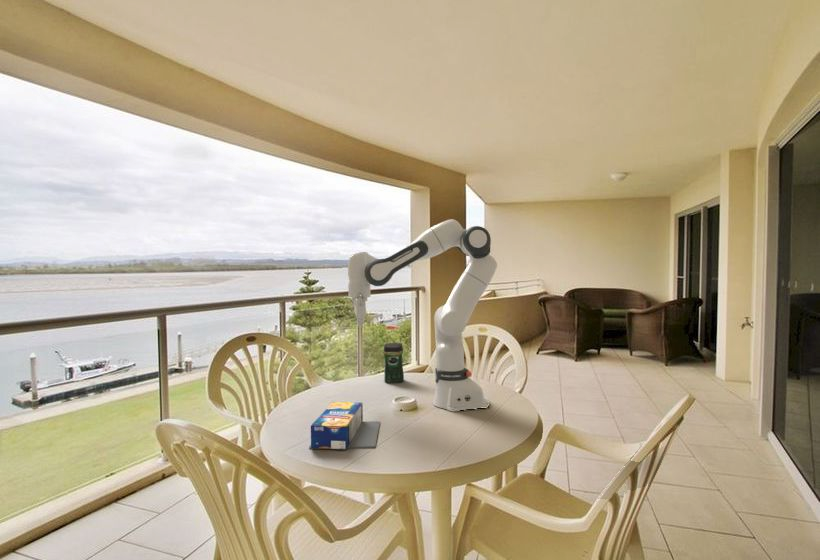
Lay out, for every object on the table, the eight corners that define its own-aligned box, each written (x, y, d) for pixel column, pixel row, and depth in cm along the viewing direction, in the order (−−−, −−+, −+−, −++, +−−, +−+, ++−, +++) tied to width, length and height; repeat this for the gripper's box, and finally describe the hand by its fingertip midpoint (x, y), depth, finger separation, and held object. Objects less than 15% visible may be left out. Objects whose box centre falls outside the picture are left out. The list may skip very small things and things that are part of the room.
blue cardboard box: (363, 421, 136) (346, 449, 114) (332, 421, 137) (310, 448, 115) (362, 402, 136) (346, 426, 114) (332, 402, 137) (310, 425, 115)
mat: (379, 422, 135) (379, 421, 135) (375, 447, 116) (375, 446, 116) (323, 423, 135) (323, 422, 135) (309, 448, 116) (309, 447, 116)
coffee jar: (404, 378, 190) (403, 341, 189) (403, 383, 182) (403, 344, 181) (384, 378, 190) (383, 341, 189) (383, 383, 182) (382, 344, 181)
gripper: (369, 294, 145) (369, 330, 145) (365, 291, 165) (366, 323, 165) (352, 294, 144) (353, 331, 144) (351, 291, 164) (351, 323, 164)
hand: (360, 326), depth 155 cm, fingers closed
